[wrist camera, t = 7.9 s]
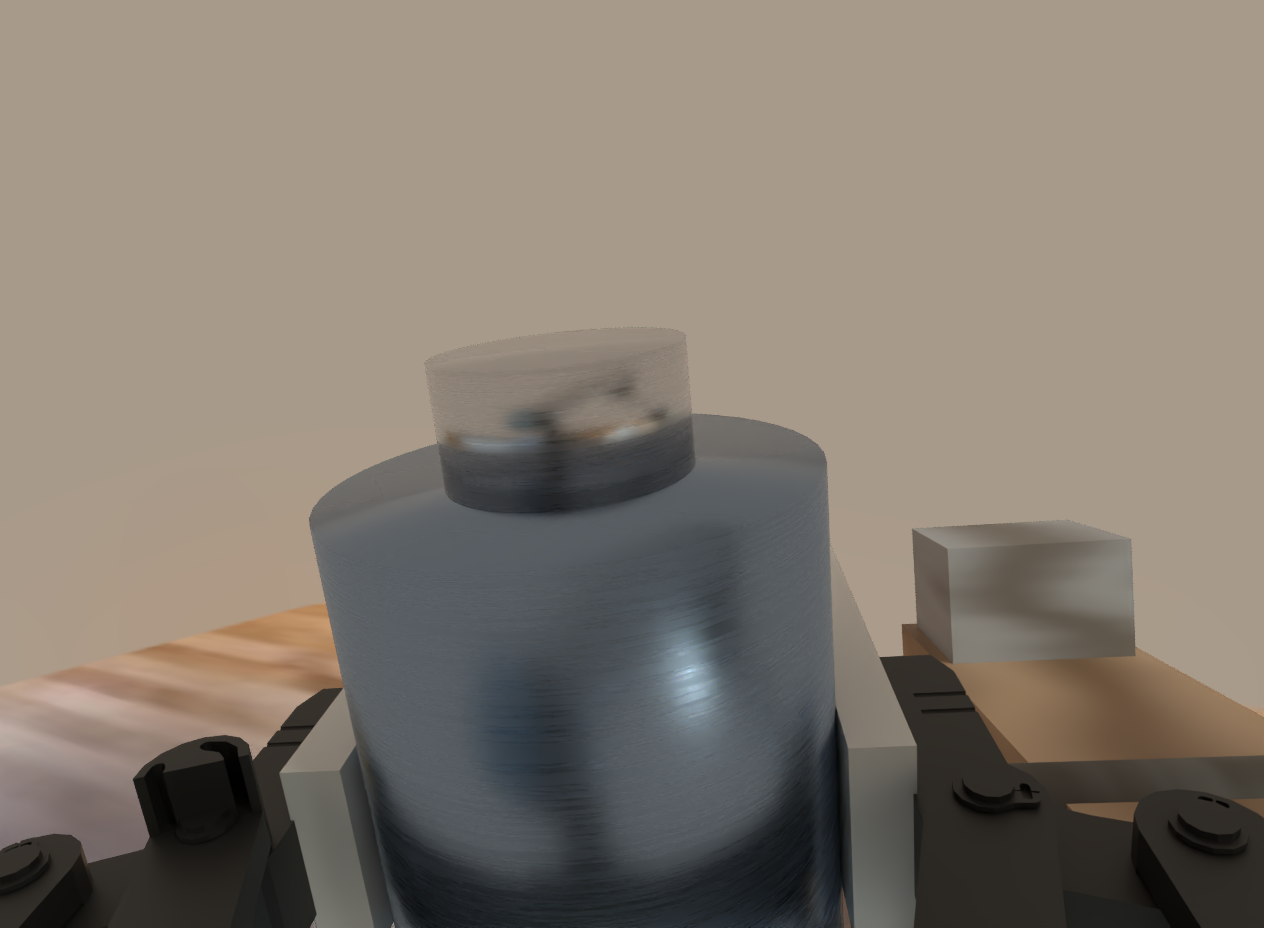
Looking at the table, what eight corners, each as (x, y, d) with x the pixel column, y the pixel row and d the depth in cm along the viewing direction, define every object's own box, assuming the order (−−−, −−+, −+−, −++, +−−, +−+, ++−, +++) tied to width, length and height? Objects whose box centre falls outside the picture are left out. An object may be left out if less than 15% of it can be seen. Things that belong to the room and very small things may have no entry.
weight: (821, 979, 16) (791, 299, 12) (893, 1416, 10) (872, 369, 7) (506, 982, 16) (394, 335, 13) (401, 1398, 11) (152, 428, 7)
